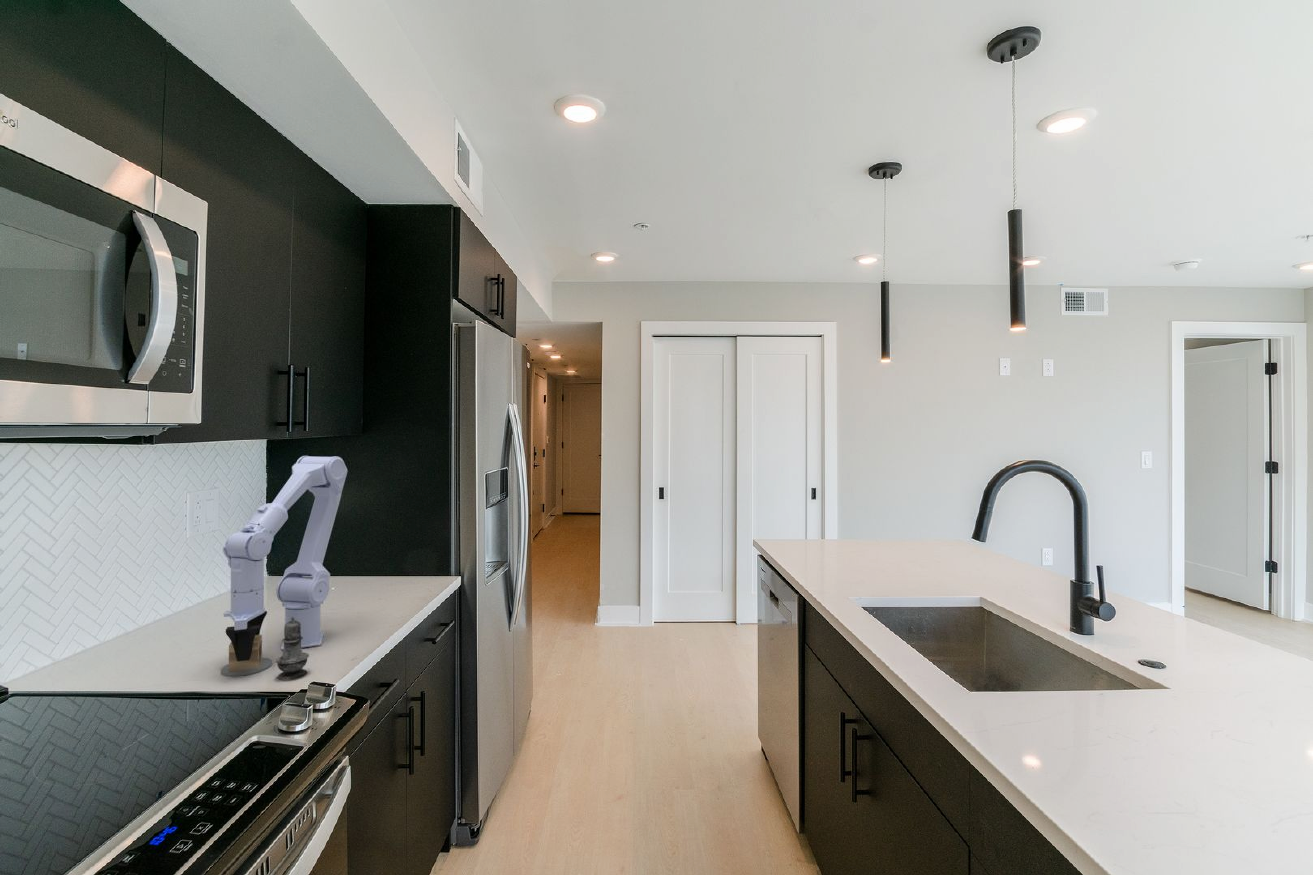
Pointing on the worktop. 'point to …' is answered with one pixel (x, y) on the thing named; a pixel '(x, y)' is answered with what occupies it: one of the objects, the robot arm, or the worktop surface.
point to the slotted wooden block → (247, 664)
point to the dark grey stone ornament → (292, 653)
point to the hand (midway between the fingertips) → (247, 653)
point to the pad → (262, 666)
